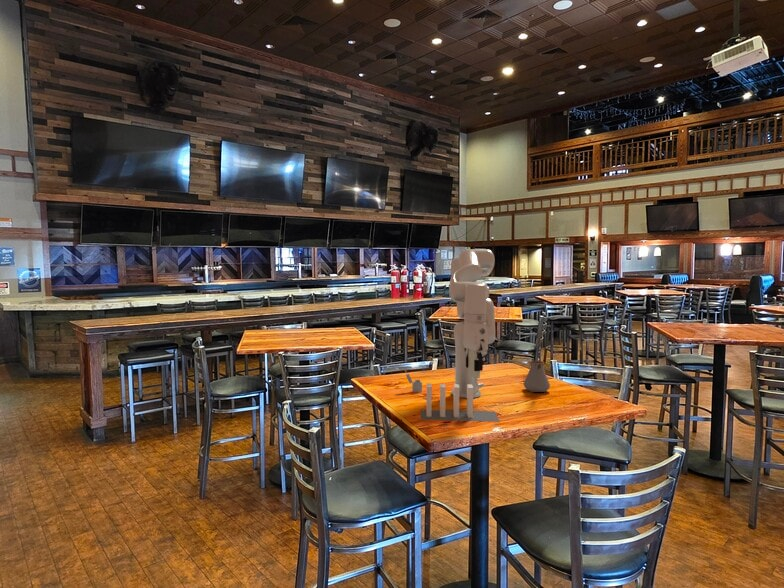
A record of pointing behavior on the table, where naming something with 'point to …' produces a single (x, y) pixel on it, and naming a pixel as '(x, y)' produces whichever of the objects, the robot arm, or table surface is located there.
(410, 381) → the lighter
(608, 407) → the table surface
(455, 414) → the domino
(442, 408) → the domino
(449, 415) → the mat
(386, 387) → the table surface
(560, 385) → the table surface
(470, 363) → the domino
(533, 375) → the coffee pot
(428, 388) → the domino
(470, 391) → the domino
